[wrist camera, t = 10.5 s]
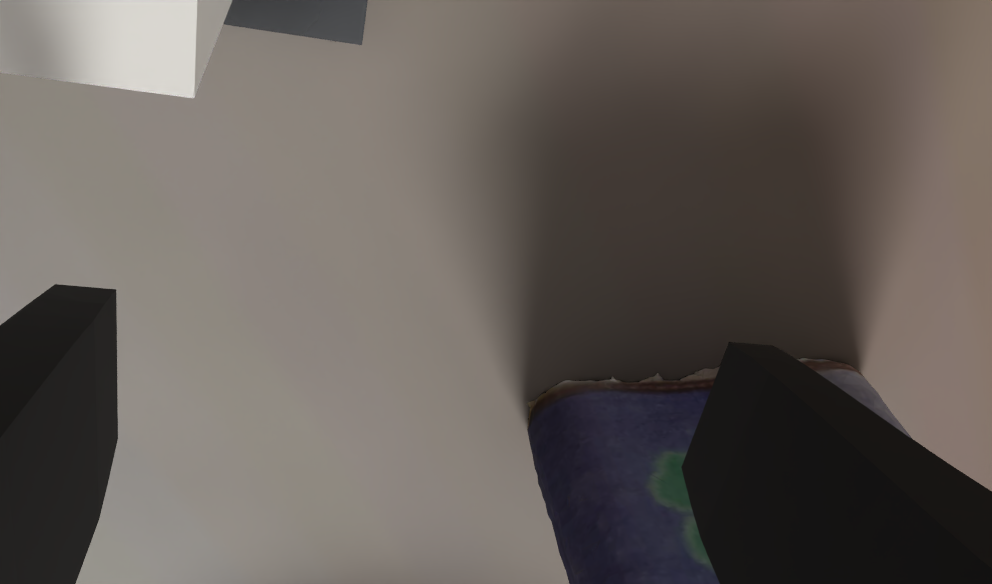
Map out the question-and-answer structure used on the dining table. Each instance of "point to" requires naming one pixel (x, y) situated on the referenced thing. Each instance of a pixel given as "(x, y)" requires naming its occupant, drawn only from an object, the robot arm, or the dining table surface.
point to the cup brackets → (302, 17)
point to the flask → (635, 472)
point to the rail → (112, 42)
